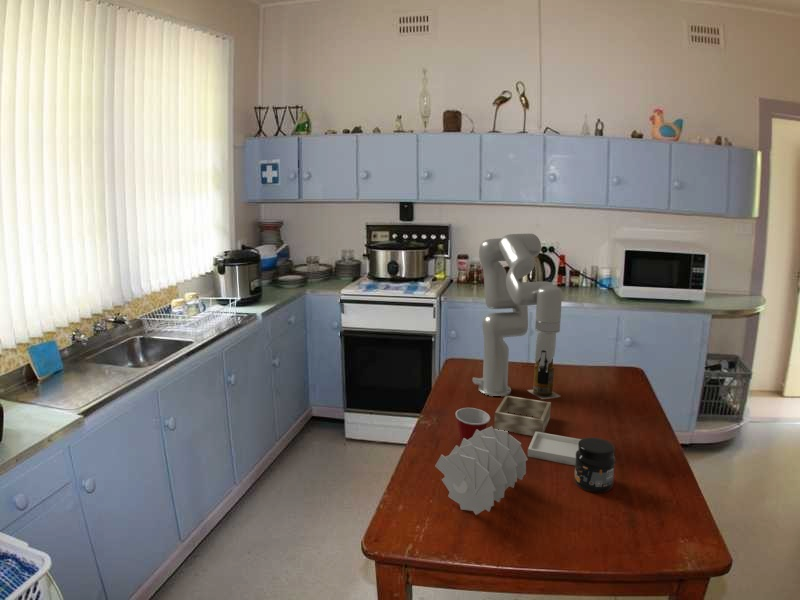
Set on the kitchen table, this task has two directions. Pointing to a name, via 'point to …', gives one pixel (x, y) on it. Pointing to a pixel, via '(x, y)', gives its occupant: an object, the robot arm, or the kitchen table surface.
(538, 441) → the tray
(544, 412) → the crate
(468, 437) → the plastic cup
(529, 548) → the kitchen table surface
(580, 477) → the supplement container
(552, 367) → the condiment
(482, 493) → the spiral staircase
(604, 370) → the kitchen table surface
